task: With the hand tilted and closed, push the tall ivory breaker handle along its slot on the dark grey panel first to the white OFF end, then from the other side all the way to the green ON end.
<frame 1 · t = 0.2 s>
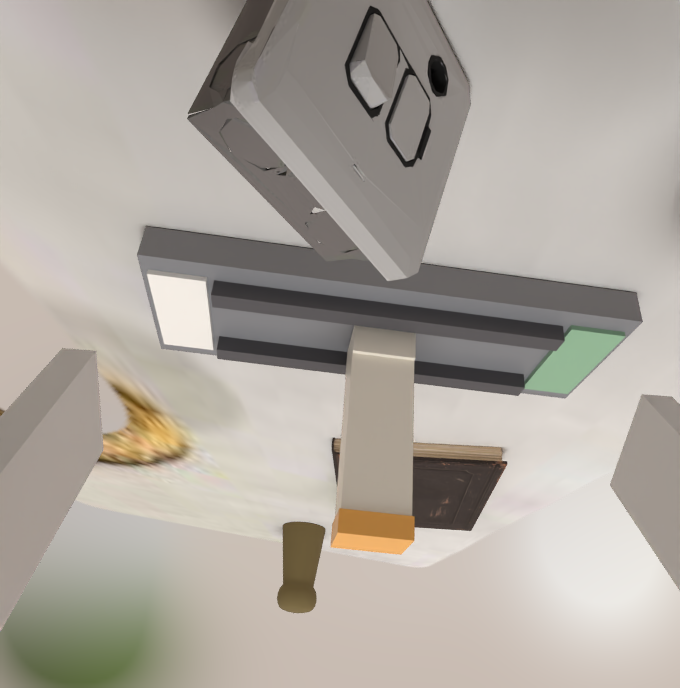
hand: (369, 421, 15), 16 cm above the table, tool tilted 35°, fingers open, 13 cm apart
breaker handle: (375, 433, 35), point 8 cm above the table, slide at 0.0 cm
cork: (304, 526, 87), on the table
panel: (381, 309, 39), on the table
hardcover book: (411, 475, 67), on the table
electrical switch: (362, 27, 23), on the table
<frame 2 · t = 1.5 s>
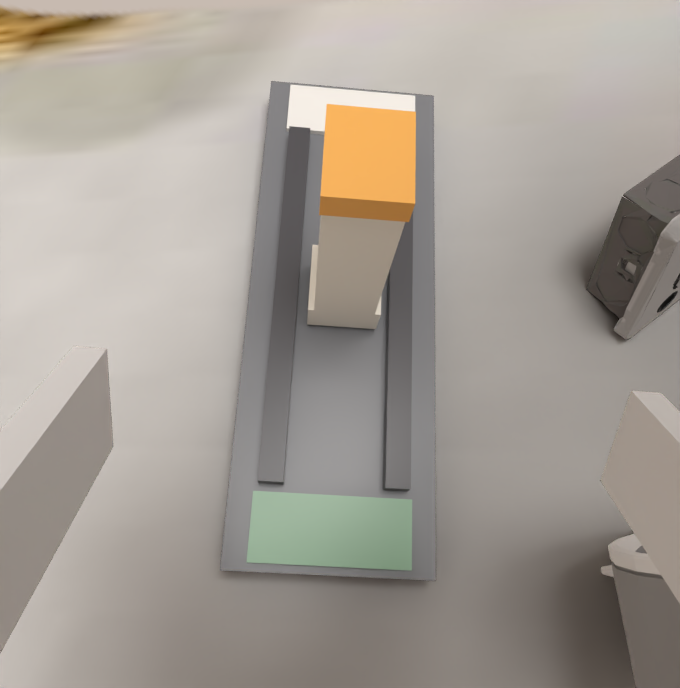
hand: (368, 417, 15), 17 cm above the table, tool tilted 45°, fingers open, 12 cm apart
breaker handle: (353, 239, 27), point 8 cm above the table, slide at 0.0 cm
panel: (340, 311, 35), on the table
electrical switch: (637, 273, 37), on the table
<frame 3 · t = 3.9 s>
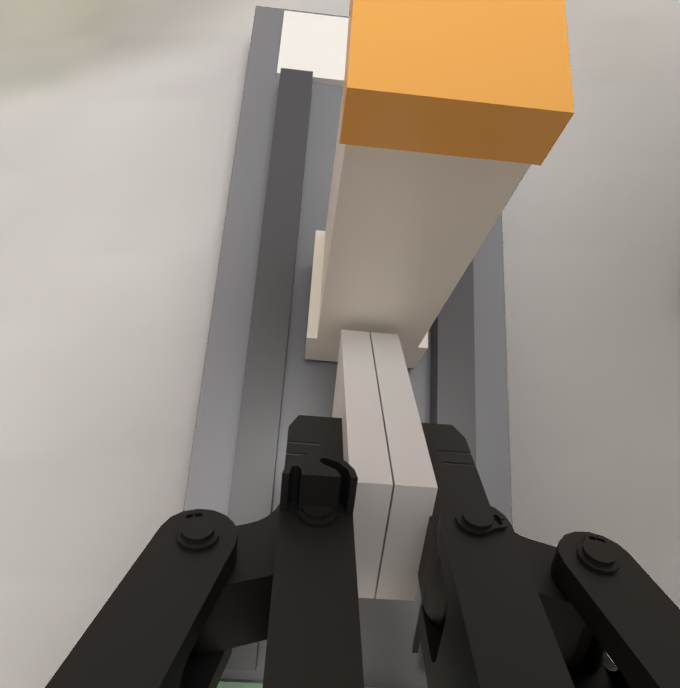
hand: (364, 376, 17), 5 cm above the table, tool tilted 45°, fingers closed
breaker handle: (392, 215, 15), point 8 cm above the table, slide at -0.7 cm, touching gripper
panel: (354, 355, 22), on the table
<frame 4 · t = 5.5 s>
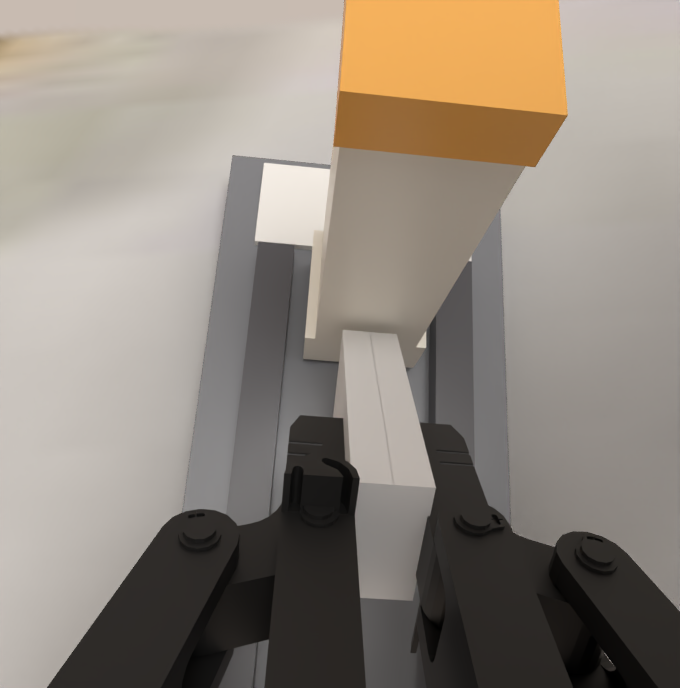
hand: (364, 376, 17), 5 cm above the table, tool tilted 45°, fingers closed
breaker handle: (389, 216, 15), point 8 cm above the table, slide at -8.1 cm, touching gripper
panel: (341, 567, 20), on the table
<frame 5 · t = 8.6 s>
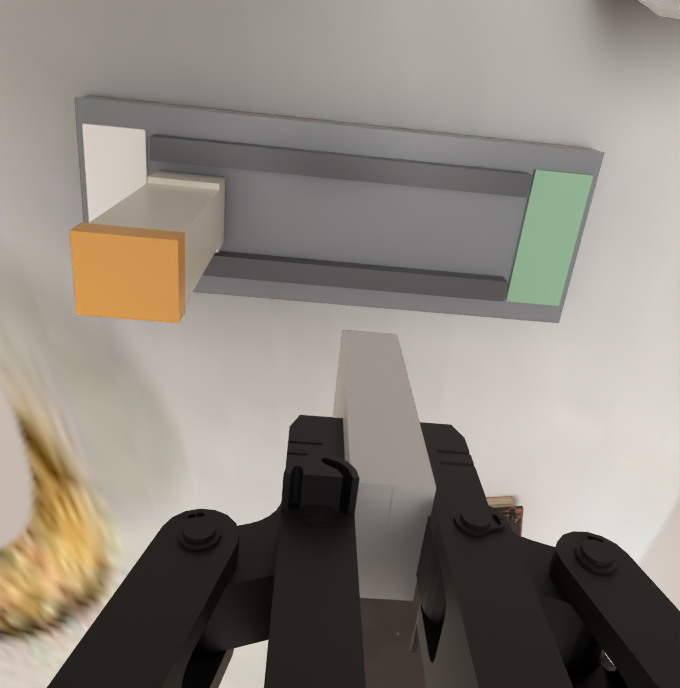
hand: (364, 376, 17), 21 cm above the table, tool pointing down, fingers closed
breaker handle: (165, 235, 28), point 8 cm above the table, slide at -8.0 cm
panel: (336, 212, 36), on the table
hardcover book: (408, 606, 51), on the table
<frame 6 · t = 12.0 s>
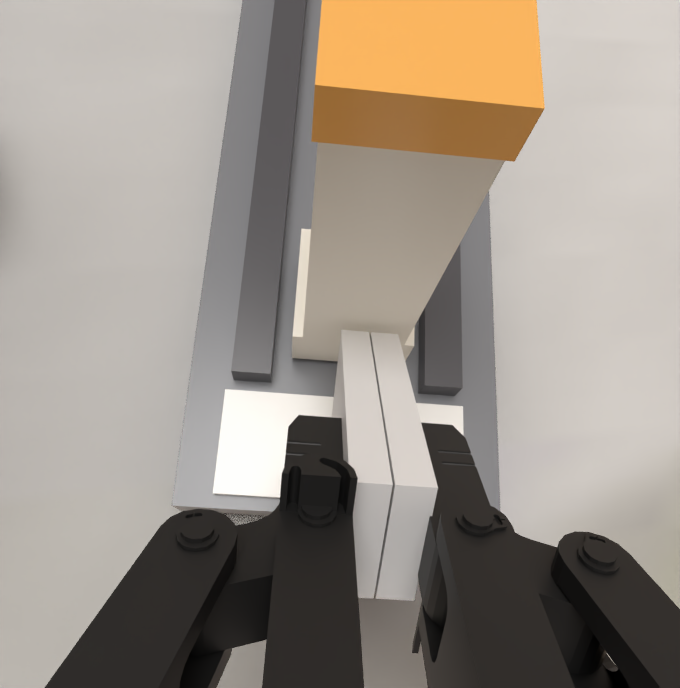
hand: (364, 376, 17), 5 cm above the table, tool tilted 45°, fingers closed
breaker handle: (374, 213, 15), point 8 cm above the table, slide at -7.4 cm, touching gripper
panel: (352, 166, 25), on the table
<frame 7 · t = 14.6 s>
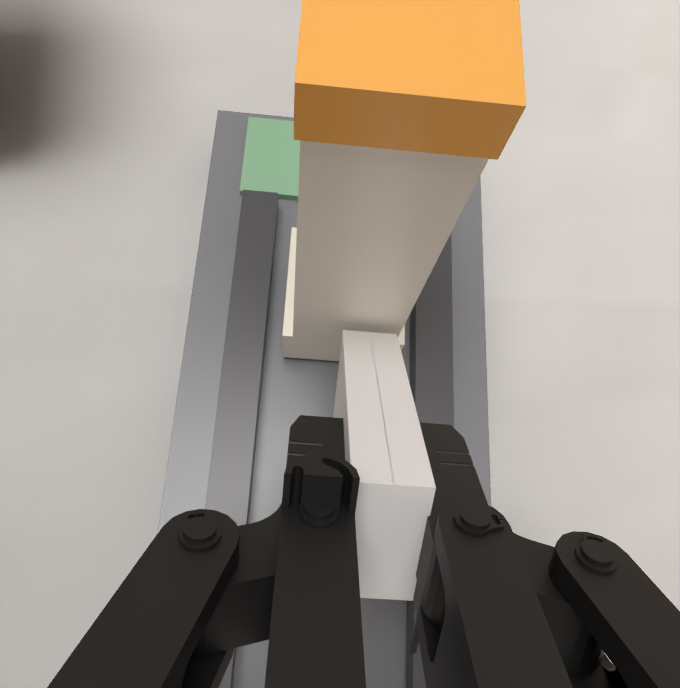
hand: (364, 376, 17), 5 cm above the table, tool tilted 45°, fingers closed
breaker handle: (363, 212, 15), point 8 cm above the table, slide at 6.2 cm, touching gripper
panel: (325, 505, 21), on the table
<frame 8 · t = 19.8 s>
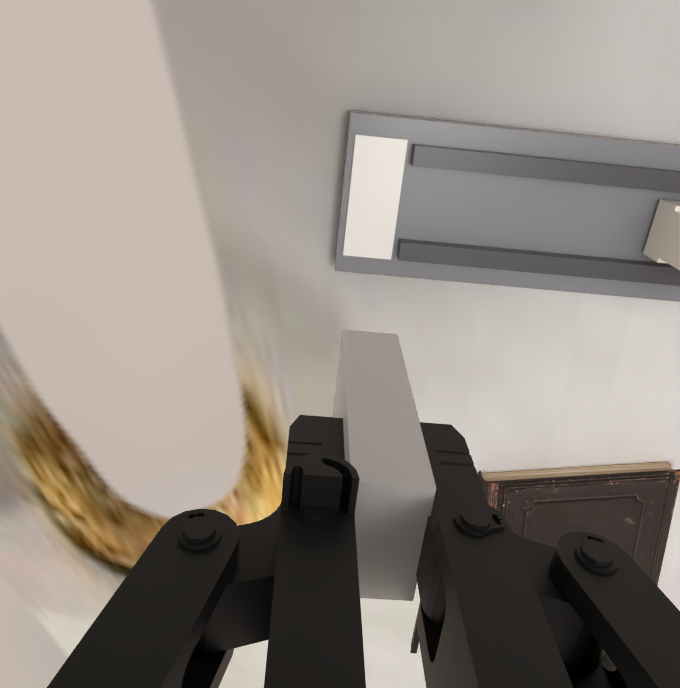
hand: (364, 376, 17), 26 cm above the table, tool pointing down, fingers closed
panel: (546, 209, 42), on the table
hardcover book: (558, 562, 57), on the table
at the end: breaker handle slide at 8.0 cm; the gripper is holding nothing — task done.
